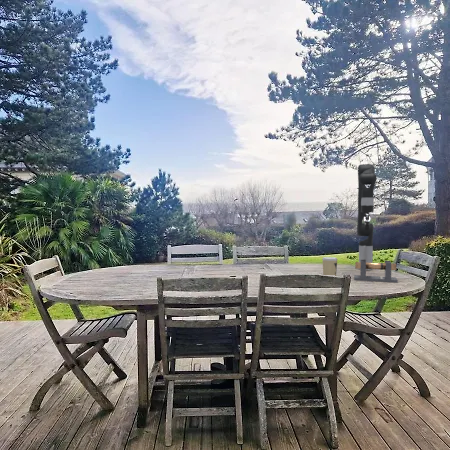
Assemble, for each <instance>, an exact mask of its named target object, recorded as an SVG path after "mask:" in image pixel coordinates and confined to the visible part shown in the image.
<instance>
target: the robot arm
mask: <svg viewBox="0 0 450 450" xmlns="http://www.w3.org/2000/svg"><path fill="white" fill-rule="evenodd" d="M375 172H376V171H375V166H374V164H373V163H372V164H371V163H368V164H366V163H365V164H364V163H363V164H359V165H357V179H358V180H357V182H358V183H357V184H358V187H357V188H358V192H357V222H356V223H357V225H356V226H357V227H356V232H357V233H356V234H357V236H358V237H367V238H365V239H364V240H363V239H362V240H360V241H359V242H358V262H361V260H366V262H369V263H373V254H374V253H373V252H374V251H373V249H374V248H373V247H374V245H373V244H374V243H373V242H374V240H373V239H374V225H373V223H370V222H371V215H370V213H374V206H375V205H374V204H375V203H374V189H375V185H376V183H377V175H376V173H375ZM367 185H370V186H368V187H367ZM359 270H361V269H359ZM366 271H373V269H366Z"/></svg>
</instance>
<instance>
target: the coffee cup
mask: <svg viewBox="0 0 450 450" xmlns="http://www.w3.org/2000/svg"><path fill="white" fill-rule="evenodd" d="M321 260H322V273H323V275H335V276H336V277H337V270H338V269H337V268H338V258H337V257H334V256H333V257H332V256H331V257H330V256H325V257H322V259H321Z"/></svg>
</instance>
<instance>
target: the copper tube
mask: <svg viewBox="0 0 450 450" xmlns="http://www.w3.org/2000/svg"><path fill="white" fill-rule="evenodd" d="M354 265H355V269H358V270H360V269H361V262H359V261H355V264H354ZM366 269H372V270H377V271H379V270H380V271H381V270H382V271H385V270H386V263H385V262H372V263H369V262H366ZM391 271H397V263H392V262H391Z"/></svg>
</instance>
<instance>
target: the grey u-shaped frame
mask: <svg viewBox="0 0 450 450" xmlns="http://www.w3.org/2000/svg"><path fill="white" fill-rule="evenodd" d="M384 263H386V270H384V276H381V275H380V276H378V275H377V276H376V275H367V274H366V273H367V270H366V260H361V270H360V269H359V270H360V273H359V274H354V278H353V279H354V281H363V282H377V283H378V282H380V283H394V284H395V283H397V284H398V280H399V279H397V277H394V276H392V270H391V263H392V262H391V260H384Z"/></svg>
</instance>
